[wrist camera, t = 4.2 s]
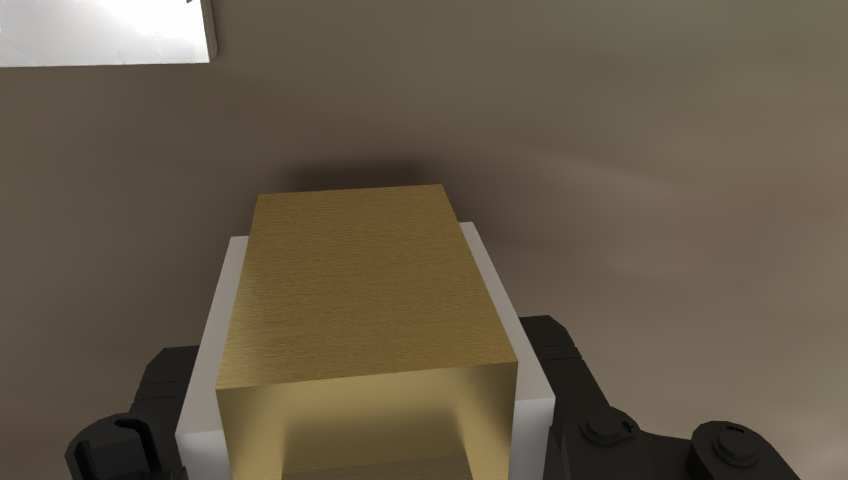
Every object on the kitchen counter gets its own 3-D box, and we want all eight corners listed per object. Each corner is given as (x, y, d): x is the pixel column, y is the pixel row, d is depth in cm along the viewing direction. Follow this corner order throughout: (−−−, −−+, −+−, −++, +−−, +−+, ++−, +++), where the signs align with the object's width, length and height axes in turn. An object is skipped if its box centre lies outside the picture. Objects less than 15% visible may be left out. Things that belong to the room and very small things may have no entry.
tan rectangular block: (278, 344, 17) (247, 655, 10) (258, 194, 15) (200, 453, 8) (439, 330, 18) (518, 615, 11) (441, 184, 16) (542, 416, 8)
